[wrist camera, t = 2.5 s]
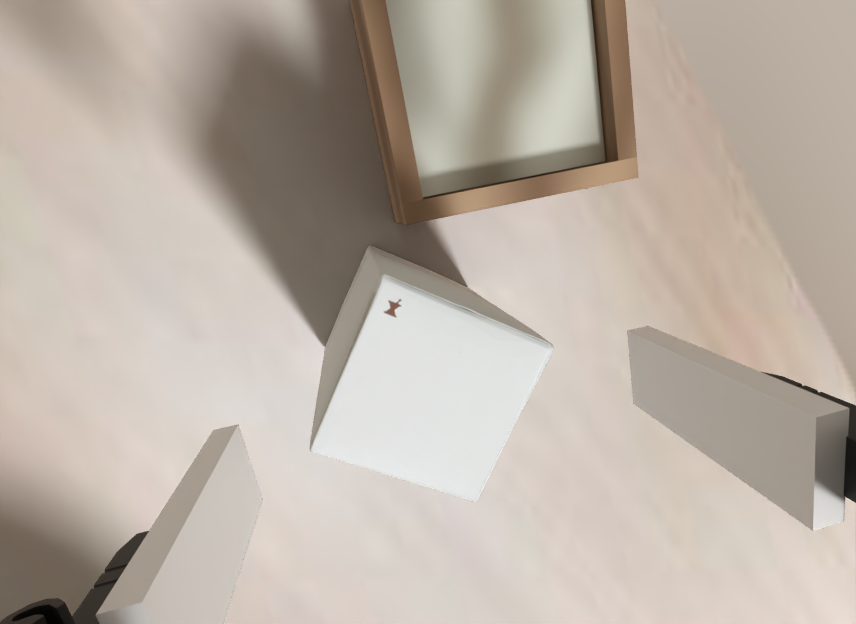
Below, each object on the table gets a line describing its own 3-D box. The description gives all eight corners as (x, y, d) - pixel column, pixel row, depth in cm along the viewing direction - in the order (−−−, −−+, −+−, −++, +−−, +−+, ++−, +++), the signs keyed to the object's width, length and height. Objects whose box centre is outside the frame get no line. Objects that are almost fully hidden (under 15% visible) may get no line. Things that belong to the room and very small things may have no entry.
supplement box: (321, 350, 29) (298, 453, 16) (368, 241, 28) (381, 265, 15) (426, 390, 30) (476, 510, 18) (474, 289, 29) (561, 344, 17)
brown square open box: (395, 222, 28) (406, 224, 22) (349, 1, 25) (348, -67, 19) (579, 184, 29) (638, 177, 23) (556, -30, 26) (617, -101, 20)
